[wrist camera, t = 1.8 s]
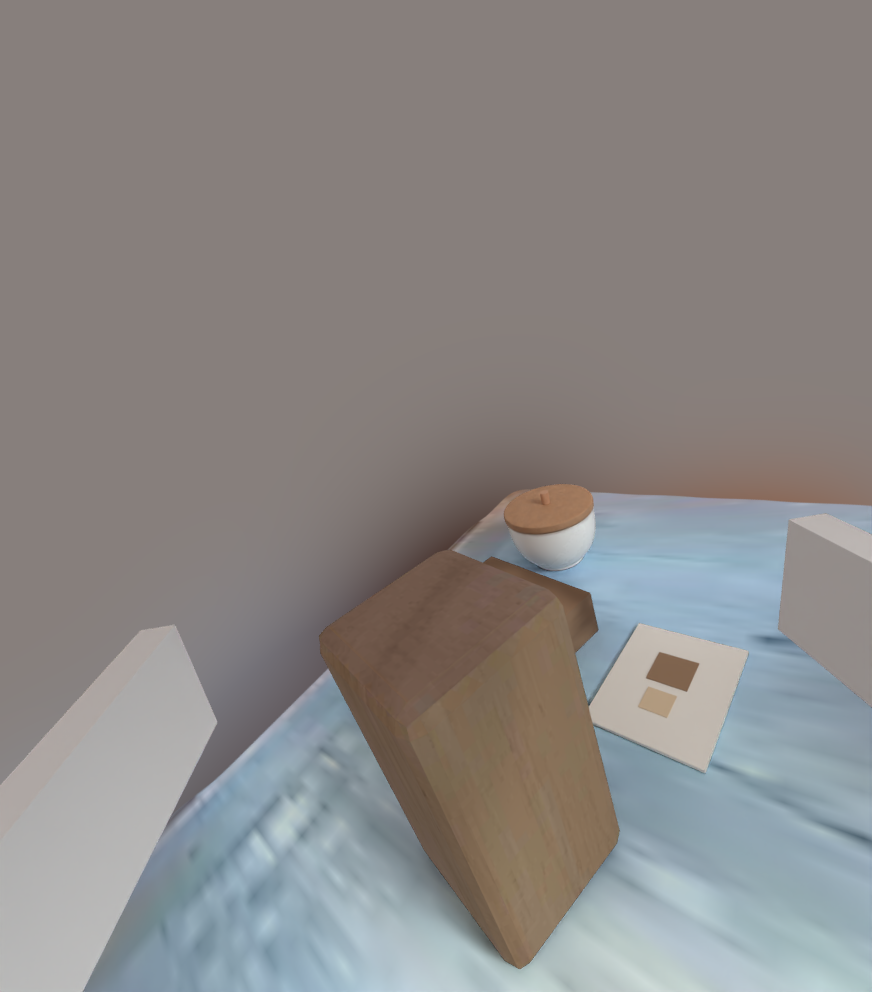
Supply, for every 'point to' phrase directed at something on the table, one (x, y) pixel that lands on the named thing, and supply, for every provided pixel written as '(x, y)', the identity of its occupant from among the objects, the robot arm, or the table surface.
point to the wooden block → (482, 738)
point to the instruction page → (670, 694)
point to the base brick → (570, 597)
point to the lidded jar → (552, 525)
